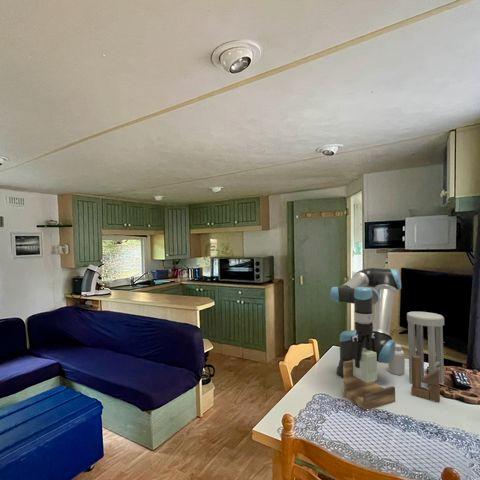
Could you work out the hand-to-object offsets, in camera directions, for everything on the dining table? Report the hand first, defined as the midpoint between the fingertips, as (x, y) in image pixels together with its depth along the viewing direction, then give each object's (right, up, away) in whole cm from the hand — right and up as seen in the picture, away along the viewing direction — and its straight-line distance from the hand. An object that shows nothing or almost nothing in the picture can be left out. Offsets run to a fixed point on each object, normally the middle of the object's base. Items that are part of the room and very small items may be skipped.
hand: (364, 373), depth 130 cm
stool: (+38, -13, +15) cm, 43 cm away
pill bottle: (+30, -13, +29) cm, 44 cm away
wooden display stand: (+3, -12, +1) cm, 13 cm away
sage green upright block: (0, -2, 0) cm, 2 cm away
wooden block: (+29, -12, +3) cm, 32 cm away
